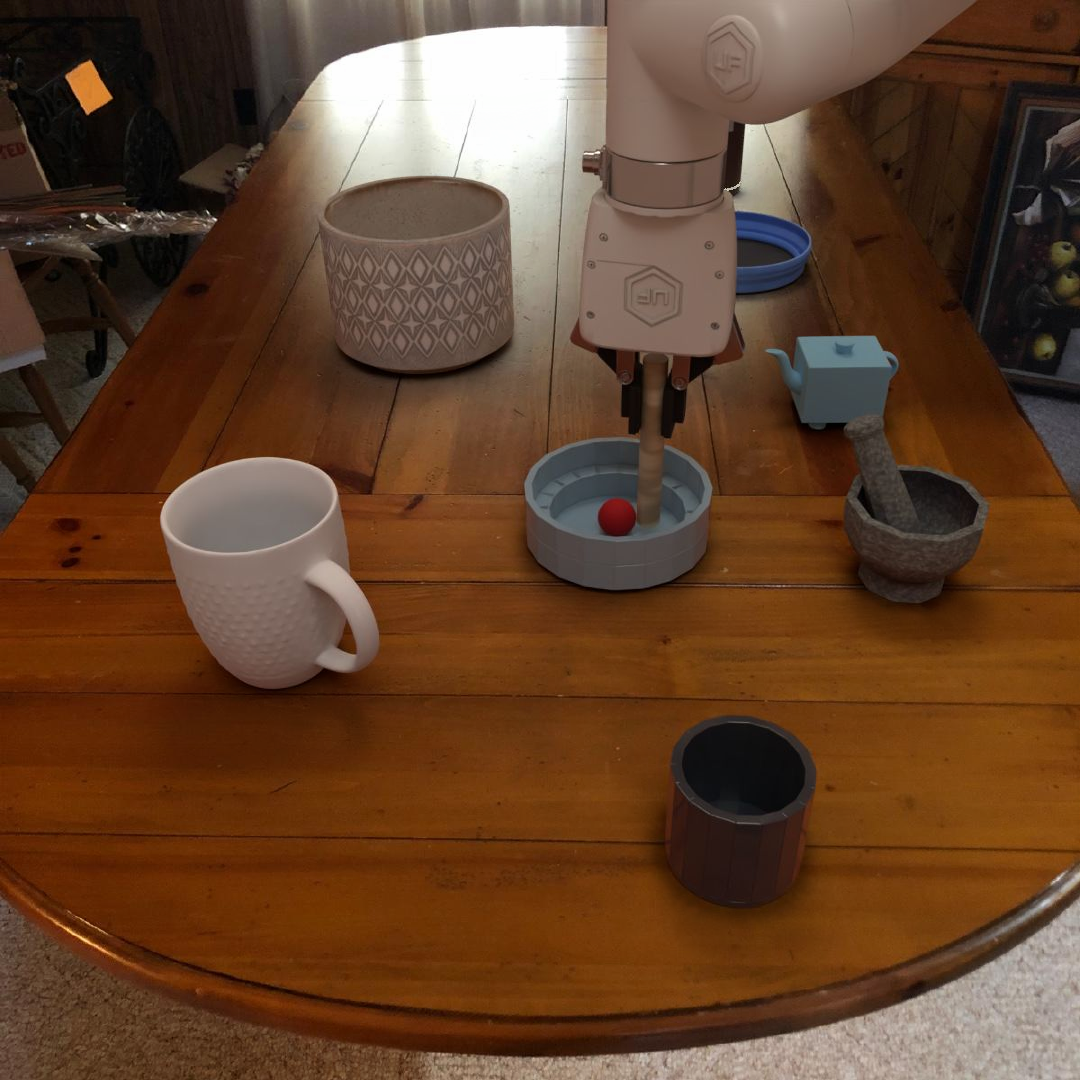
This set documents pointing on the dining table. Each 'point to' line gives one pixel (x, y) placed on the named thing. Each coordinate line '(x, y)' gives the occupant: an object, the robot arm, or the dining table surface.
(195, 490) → the mug
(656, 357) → the stick
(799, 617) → the dining table surface
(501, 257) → the planter
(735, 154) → the wine bottle
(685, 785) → the holder
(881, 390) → the teapot
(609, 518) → the berry
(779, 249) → the bowl
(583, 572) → the mixing bowl
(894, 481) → the mortar and pestle
